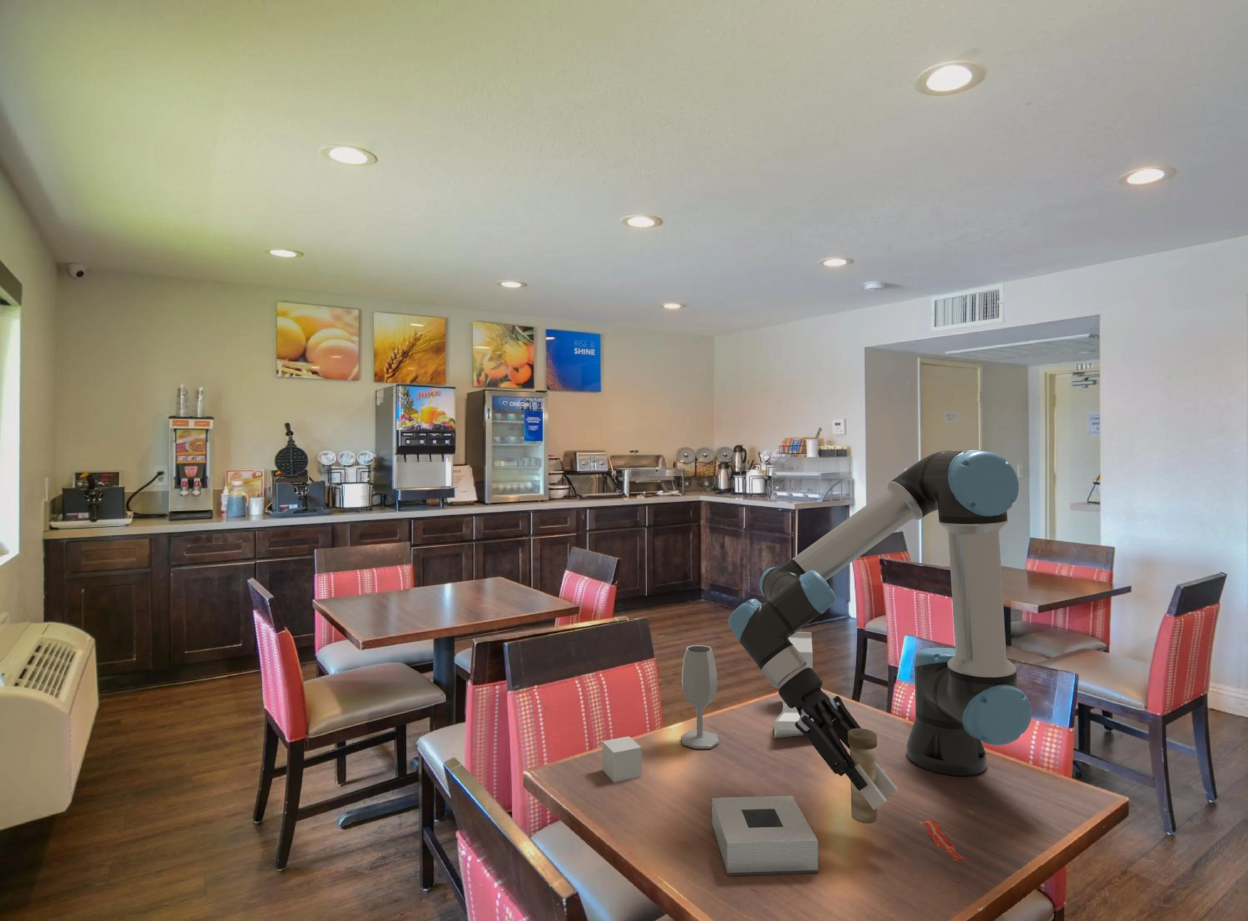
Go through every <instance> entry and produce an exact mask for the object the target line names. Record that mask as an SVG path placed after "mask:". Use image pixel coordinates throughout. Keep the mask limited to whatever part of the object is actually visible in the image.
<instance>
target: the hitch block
mask: <svg viewBox="0 0 1248 921" xmlns="http://www.w3.org/2000/svg"><path fill="white" fill-rule="evenodd" d="M711 800H712V802H711V812H712V814H711V815H712V817H711V818H712V819H711V820H712V822H711V823H712V824H711V827H712V830H713V833H714V837H715V839H716V843H717V846H718V849H719V852H720V857H721V859H722V862H723V865H724V869H725V872H726V874H727V877H738V876H740V877H741V876H742V877H743V876H773V875H774V876H775V875H799V874H800V875H802V874H803V875H804V874H808V875H809V874H819V841H818V839H817V837H816V835H815V833H814V832H813V829H812V828H811V826H810V824H809V823H808V821H807V819H806V817H805V816H804V813H803V812H802V810H801V808H800V807H799V805H798V803H797V802H796V800H795V798H794V796H793V795H768V796H767V795H766V796H763V795H762V796H761V795H760V796H731V797H730V796H728V797H727V796H726V797H712V798H711Z"/></svg>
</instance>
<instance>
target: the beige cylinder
mask: <svg viewBox="0 0 1248 921" xmlns="http://www.w3.org/2000/svg"><path fill="white" fill-rule="evenodd" d="M848 744H849V745H850V749H849V755H850V757H851V758H852V760H853V761H854V763H855V766H856V765H858V764H860V766H861V767H862V768H863V769H864V771H865V772H866V773H867V775H868V776H869V777H870V779H871V780H872V781H873V783H874V784H875V785H876V762H875V760H876V747H877V746H878V734H877V733H876V732H875V731H873V730H871V729H866V728H862V727H861V728H855V729H851V730H849V731H848ZM855 766H854V767H855ZM850 806H851V808H850V810H851V818H852V819H853V820H854V821H856V822H858V823H860V824H866V825H868V824H869V825H870V824H874V823H876V822H877V820H878V816H877V815H878V814H877V811H878V810H877V809H878V808H876V809H875V810H873V808H872V807H871V806H870V804H869V803H868V802H867V800H866V799H865V798H864V796H863V795H862V794H861V792H860V791H859V790H858V789H857V788H856V787H855V785H854V784H853V783H852V781H851V780H850Z"/></svg>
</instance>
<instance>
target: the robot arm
mask: <svg viewBox="0 0 1248 921" xmlns="http://www.w3.org/2000/svg"><path fill="white" fill-rule="evenodd" d="M1019 484H1020V483H1019V478H1018V475H1017V473H1016V471H1015V469H1014V467H1013V466H1012V465H1011V463H1010V462H1008V461H1007V460H1006V459H1005V458H1004V457H1002V456H1001V455H998V454H996V453H994V452H990V451H983V450H980V449H979V450H978V449H971V450H941V451H937V452H933V453H931V454H929V455H927V456H925V457H923V458H922V459H920V460H918V461H917V462H916V463H914V464H913V465H911V466H910V467H909V468H907V469H906V470H904V471H903V472H901V473H900V474H898V475H897V476H896V477H895V478H893V479H892V480H891V481H889V482H888V484H887V489H886V490H885V491H884V492H883V493H881V494H879V496H877V497H876V498H874V499H873V500H872V501H870V502H869V503H867V504H866V505H865V506H862V508H860V509H859V510H858V511H857V512H855V513H853V514H852V515H850V517H848V518H846V519H845V520H844V521H842V522H841V523H840V524H838V525H837V526H836V527H835V526H834V528H833V529H831V530H830V531H829V532H827V533H825V534H824V535H823V536H821V538H819V539H818V540H816V541H815V542H813V543H812V544H810V545H809V546H808V547H806V548H805V549H803V550H802V551H801V552H799V553H798V554H797V555H795V556H794V557H793V558H791V559H789V560H788V561H786V562H785V563H784V564H782V565H781V566H774V567H769V568H767V569H766V570H764V572H763V573H762V575H761V576H760V578H759V582H758V583H759V590H760V592H761V594H762V596H763V597H764V599H765V600H766V602H764V603H763V602H760V601H759V599H757V598H751V599H748V600H746V602H743V603H741V604H740V605H739V606H738V607H736V609H734V610H733V611H732V612H731V613H730V615H729V617H728V619H727V625H728V627H729V629H730V630H731V632H732V633H733V634H734V636H735V637H736V639H737V640H738V642H739V643H740V644H741V645H742V647H743V649H744V650H745V651H746V652H747V654H748V655H749V656H750V657H751V659H752V660H753V662H754V663H755V664H756V665H757V667H759V669H760V670H761V672H762V673H763V675H764V676H765V678H766V679H768V681H769V683H770V684H771V685H772V686H773V688H775V689H778V695H779V696H780V698H781V700H782V699H783V700H784V702H785V703H786V704H787V706H788V707H789V708H794V707H796V709H797V711H798V714H799V715H800V719H799V720H798V721H797V722H796V723H795V726H796V728H797V729H798V730H800V731H801V732H802V733H803V734H804V736H805V738H806V739H807V740H808V741H809V742H810V744H811V745H812V746H813V747H814V749H815V750H816V752H817V753H818V754H819V755H820V756H821V758H822V759H823V761H824V762H825V763H826V764H827V766H828V767H829V768H830V770H831V771H832V772H833V773H834V774H835V775H838V776H840V777H842V776H844V775H846V776H847V777H848V779H849V780H850V782H851V781H852V783H853V784H854V785H855V787H856V788H857V789H858V790H859V791H860V792H861V794H862V795H863V796H864V798H865V799H866V800H867V802H868V803H869V804H870V806H871V807H872V808H873V810H875V809H876V808H877V809H878V808H880V807H881V806H882V805H884V803H886V802H887V801H888V799H887V798H889V797H891V796H892V795H893V794H895V793H896V792H898V791H899V788H898V787H897V786H896V784H895V783H894V782H893V781H892V779H891V778H890V777H889V776H888V774H887V773H886V772H885V771H884V769H883V767H882V766H881V764H879V762H878V761H877V760H876V759H875V762H876V785H875V784H874V783H873V781H872V780H871V779H870V777H869V776H868V775H867V773H866V772H865V771H864V769H863V768H862V767H861V766H860V764H858V765H856V766H855V763H854V761H853V760H852V758H851V757H850V752H848V750H850V745H849V744H848V731H849V730H851V729H855V728H861V729H862V727H861V726H860V725H859V723H858V722H857V721H856V719H855V718H854V717H853V715H852V714H851V713H850V711H849V710H848V709H847V707H846V706H845V704H844V702H843V700H842V698H841V697H840V696H839V695H836V696H834V698H831V697H829V696H828V695H827V694H826V693H825V692H824V691H823V690H822V689H821V688H822V687H823V685H824V684H823V680H822V679H821V678H820V676H818V674H817V672H815V670H814V669H812V668H810V667H808V668H807V667H806V666H807V661H806V660H805V659H804V658H803V656H802V655H801V654H800V653H799V651H798V650H797V649H796V648H795V647H794V646H793V644H792V643H791V642H790V640H789V639H788V638H789V637H790V636H792V635H793V634H795V633H796V632H799V631H800V630H802V629H803V628H804V627H805V626H807V625H808V624H809V623H811V622H812V621H813V620H815V619H816V618H818V617H819V616H820V615H822V614H824V613H825V612H826V611H827V610H828V609H829V608H830V607H831V606H832V605H833V604H835V602H836V594H835V592H834V590H833V588H831V586H830V585H829V583H828V582H827V581H828V580H829V579H830V578H832V577H834V576H835V574H837V573H838V572H840V571H841V570H843V569H844V568H846V567H847V566H848V565H849V564H852V562H854V561H855V560H857V559H858V558H859V557H862V555H864V554H865V553H867V552H868V551H869V550H871V549H872V548H874V547H875V546H876V545H877V544H879V543H880V542H881V541H883V540H885V539H886V538H888V537H889V536H890V535H892V534H893V533H895V532H896V531H897V530H899V529H900V528H901V527H903V526H904V525H906V524H907V523H908V522H910V521H912V520H914V521H920V520H922V519H923V518H924V517H925V516H927V515H929V514H931V513H933V512H935V511H936V512H937V511H938V512H937V513H938V514H937V515H938V523H939V524H940V525H941V526H942V527H943V528H944V529H946V531H947V533H948V535H947V536H948V550H949V551H948V553H949V565H950V567H949V568H950V583H951V584H950V585H951V586H950V587H951V597H952V598H951V600H952V601H951V602H952V615H953V616H952V620H953V630H954V631H953V633H954V634H953V635H954V648H953V647H927V648H921V649H919V650H917V652H916V653H915V658H914V665H913V668H914V692H915V693H914V695H915V696H914V701H915V702H914V703H915V704H914V705H915V707H914V708H915V709H914V710H915V719H914V721H913V724H912V727H911V730H910V733H909V736H908V740H907V741H906V755H907V758H908V759H909V760H910V761H911V763H913V764H916V765H917V766H919V767H921V768H923V769H926V770H928V771H931V772H934V773H939V774H943V775H944V774H945V775H951V776H961V777H962V776H963V777H964V776H966V777H967V776H973V775H979V774H981V773H983V772H984V771H986V769H987V764H988V762H987V753H986V749H985V748H984V745H983V743H984V744H988V745H991V746H1005V745H1008V744H1011V743H1013V742H1015V741H1017V740H1018V739H1020V737H1021V735H1022V734H1025V732H1026V731H1027V730H1028V728H1029V727H1030V724H1031V721H1032V717H1033V708H1032V704H1031V701H1030V700H1029V698H1028V697H1027V695H1026V694H1025V693H1024V691H1022V689H1020V688H1018V678H1017V677H1018V674H1017V672H1018V671H1017V667H1016V665H1014V664H1013V663H1012V662H1011V661H1010V660H1009V659H1008V658H1007V646H1006V630H1005V614H1004V609H1005V608H1004V597H1003V596H1004V595H1003V592H1004V591H1003V579H1002V562H1001V545H1000V542H1001V541H1000V530H1001V529H1002V528H1003V527H1004V526H1005V525H1006V524H1008V520H1009V518H1008V510H1010V509H1011V508H1012V507H1013V504H1014V503H1015V502H1016V501H1017V498H1018V496H1019V490H1020V485H1019ZM847 748H848V750H847ZM854 766H855V767H854Z"/></svg>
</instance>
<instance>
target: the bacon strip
mask: <svg viewBox="0 0 1248 921" xmlns="http://www.w3.org/2000/svg"><path fill="white" fill-rule="evenodd" d="M921 824H923V825H924V826H925V827H926V828H927V831H926V833H927V834H928V836H930V839H931V840H932V842H933V843H934V845H935V846H936V845H937V846H936V847H937V848H941V847H943V849H942V850H944V851H946V852H947V853H948V854H949V855H950V856H952V857H953V858H952V861H954V862H958V861H962V860H967V857H964V856H962V855H960V853H958V851H956V849H957V848H956V846H955V845H954V844H952V842H951V841H950V840H949V839H948V838H947V837H948V836H947V835H946V834H944V832H943V830H942V829H941V826H940V823H939V822H938V821H935V820H933V819H932V818H931V819H925V821H921ZM938 845H939V846H940V847H939V846H938Z"/></svg>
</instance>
